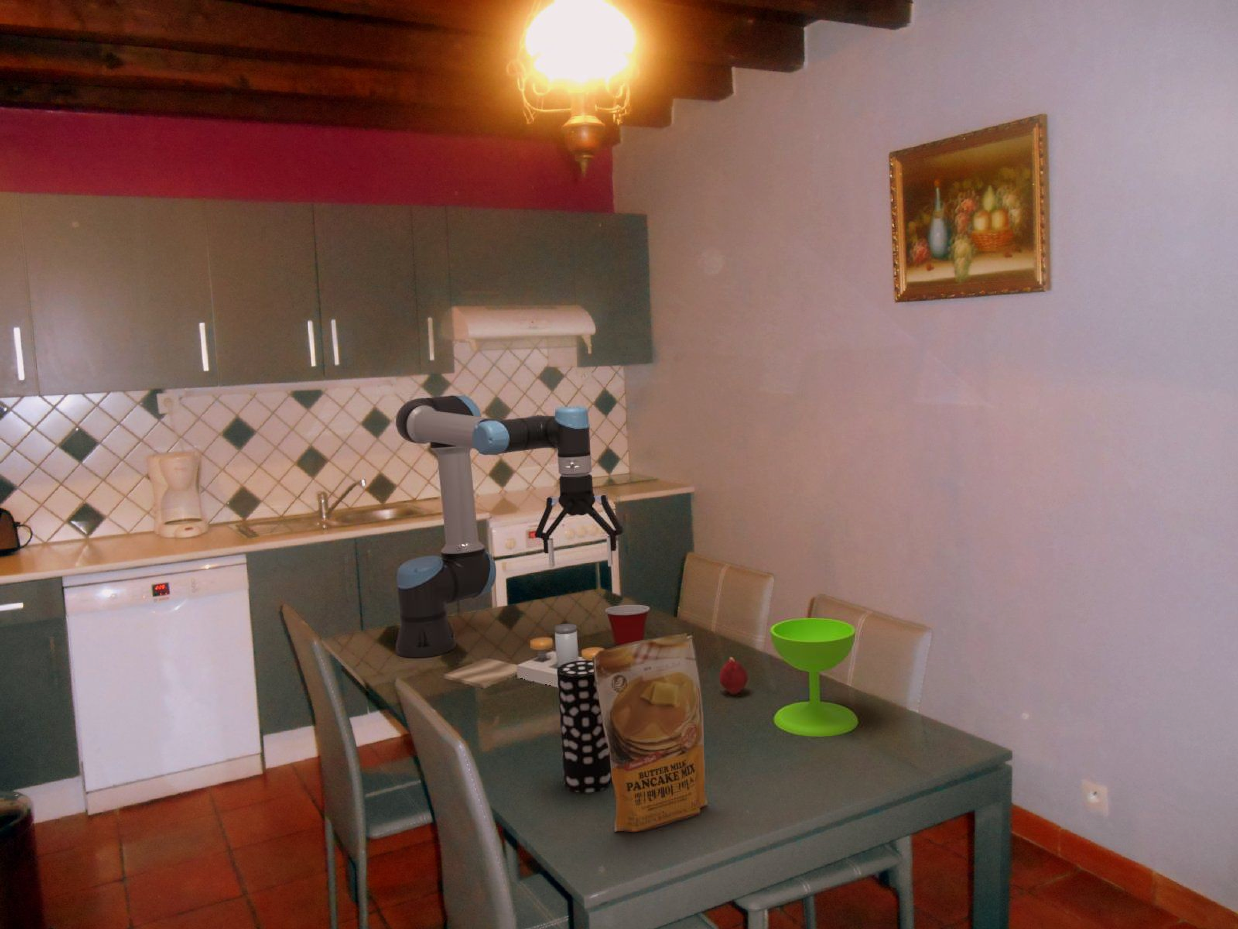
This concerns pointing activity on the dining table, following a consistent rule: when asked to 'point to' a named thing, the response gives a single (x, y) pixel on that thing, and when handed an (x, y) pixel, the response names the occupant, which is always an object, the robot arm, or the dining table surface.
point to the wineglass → (814, 673)
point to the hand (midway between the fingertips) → (581, 566)
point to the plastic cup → (627, 623)
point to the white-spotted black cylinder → (582, 729)
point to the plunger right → (590, 652)
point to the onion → (733, 676)
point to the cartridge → (566, 643)
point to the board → (483, 673)
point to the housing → (540, 670)
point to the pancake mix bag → (653, 729)
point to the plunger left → (541, 646)
